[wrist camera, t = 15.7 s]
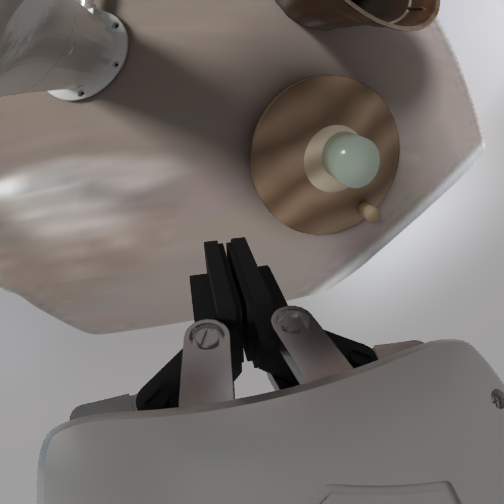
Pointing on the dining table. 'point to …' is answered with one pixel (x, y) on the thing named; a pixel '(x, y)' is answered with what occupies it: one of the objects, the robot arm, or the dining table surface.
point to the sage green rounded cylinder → (351, 159)
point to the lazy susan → (320, 154)
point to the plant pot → (362, 13)
